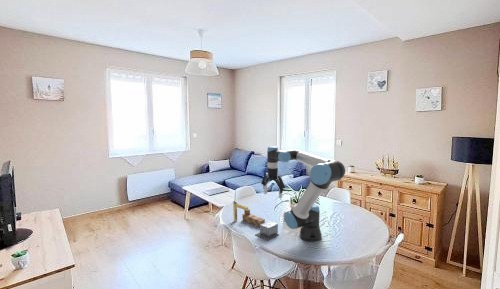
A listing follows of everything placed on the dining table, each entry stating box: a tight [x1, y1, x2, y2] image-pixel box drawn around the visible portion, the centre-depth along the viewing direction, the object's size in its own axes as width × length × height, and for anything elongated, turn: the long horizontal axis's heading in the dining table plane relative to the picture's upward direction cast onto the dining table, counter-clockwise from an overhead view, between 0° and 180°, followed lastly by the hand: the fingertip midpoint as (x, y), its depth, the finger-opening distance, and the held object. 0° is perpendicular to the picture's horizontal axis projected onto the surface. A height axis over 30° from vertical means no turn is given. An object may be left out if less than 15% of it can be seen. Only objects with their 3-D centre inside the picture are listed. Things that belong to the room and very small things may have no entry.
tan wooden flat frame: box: [232, 200, 249, 222], centre depth 209 cm, size 16×3×16 cm, turn 44°
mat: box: [254, 232, 279, 241], centre depth 189 cm, size 12×12×1 cm
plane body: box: [241, 208, 266, 228], centre depth 210 cm, size 20×5×9 cm, turn 44°
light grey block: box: [259, 220, 279, 238], centre depth 190 cm, size 10×8×7 cm
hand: (272, 195), depth 197 cm, fingers open, 13 cm apart
